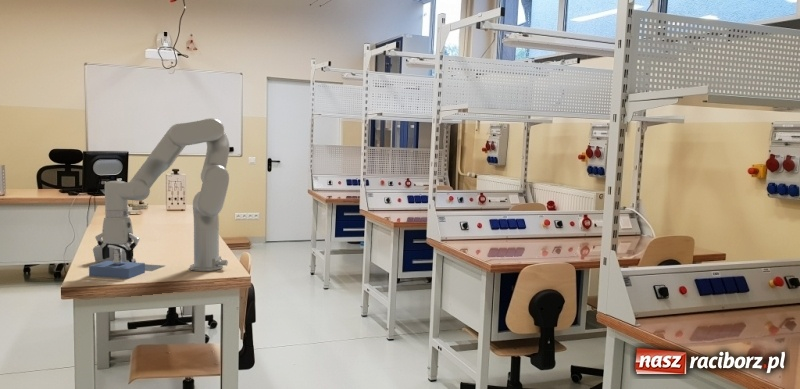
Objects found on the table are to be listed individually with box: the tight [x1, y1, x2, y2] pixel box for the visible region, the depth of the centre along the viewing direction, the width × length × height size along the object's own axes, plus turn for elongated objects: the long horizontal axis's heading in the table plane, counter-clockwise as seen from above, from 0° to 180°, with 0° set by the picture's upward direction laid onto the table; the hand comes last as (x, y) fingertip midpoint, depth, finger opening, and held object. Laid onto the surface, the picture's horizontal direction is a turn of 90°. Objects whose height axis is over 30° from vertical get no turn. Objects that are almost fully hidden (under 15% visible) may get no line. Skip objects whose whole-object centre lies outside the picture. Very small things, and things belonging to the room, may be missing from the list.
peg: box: [113, 248, 122, 266], centre depth 215 cm, size 3×3×10 cm
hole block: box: [88, 261, 146, 280], centre depth 215 cm, size 16×10×4 cm, turn 82°
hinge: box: [92, 243, 137, 263], centre depth 235 cm, size 17×5×10 cm, turn 74°
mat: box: [145, 263, 165, 272], centre depth 228 cm, size 14×10×1 cm
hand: (117, 259), depth 215 cm, fingers open, 9 cm apart
